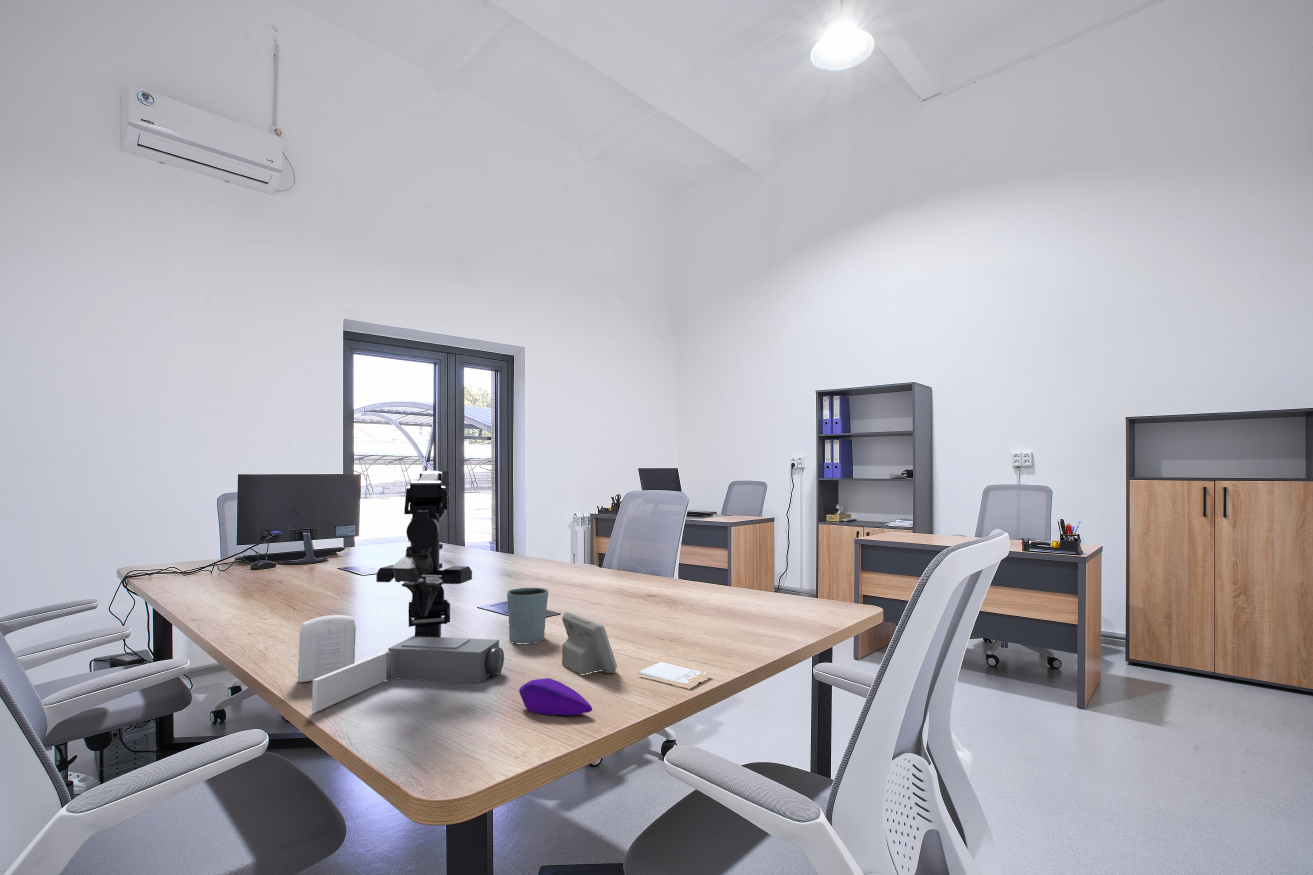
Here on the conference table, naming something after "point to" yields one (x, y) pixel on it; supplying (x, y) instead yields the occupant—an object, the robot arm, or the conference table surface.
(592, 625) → the digital clock
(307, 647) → the white upright block
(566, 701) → the purple teardrop stone
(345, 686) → the side door
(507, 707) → the conference table surface
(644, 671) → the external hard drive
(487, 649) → the camera housing
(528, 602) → the teal cup
